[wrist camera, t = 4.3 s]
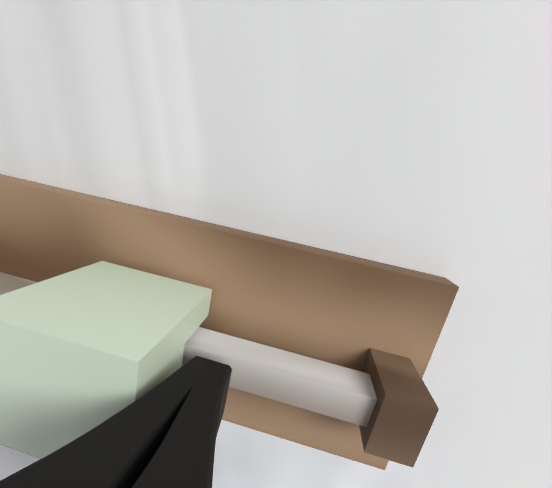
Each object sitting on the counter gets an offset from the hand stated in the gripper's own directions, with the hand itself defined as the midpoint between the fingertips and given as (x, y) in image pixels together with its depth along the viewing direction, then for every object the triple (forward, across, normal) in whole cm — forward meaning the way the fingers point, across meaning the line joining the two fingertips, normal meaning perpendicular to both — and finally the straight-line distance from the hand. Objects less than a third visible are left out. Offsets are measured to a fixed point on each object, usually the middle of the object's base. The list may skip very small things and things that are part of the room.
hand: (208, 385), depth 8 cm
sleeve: (+3, +4, 0) cm, 4 cm away
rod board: (+4, +6, 0) cm, 7 cm away
